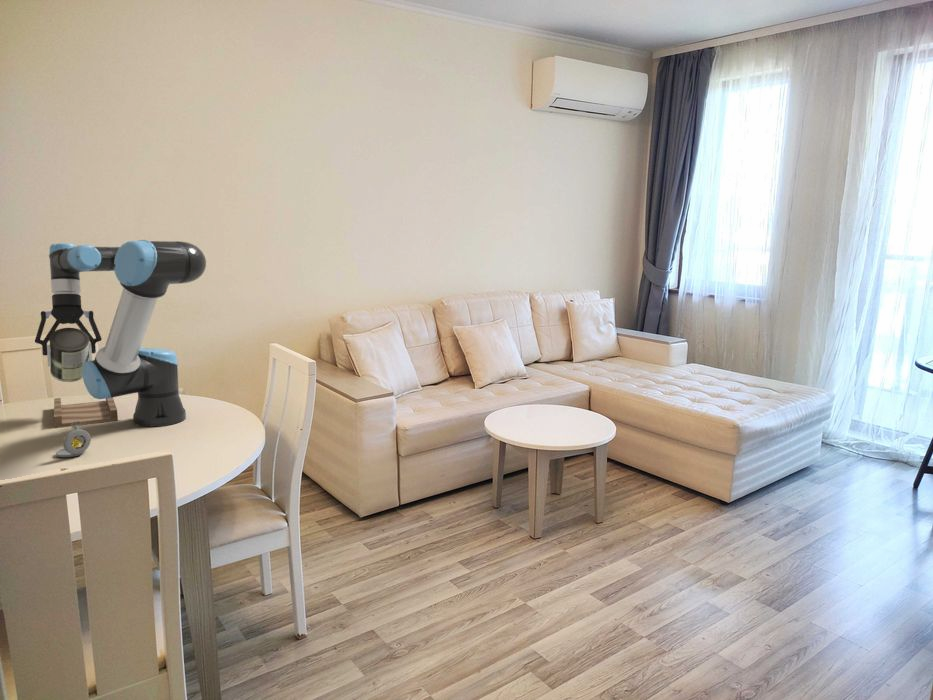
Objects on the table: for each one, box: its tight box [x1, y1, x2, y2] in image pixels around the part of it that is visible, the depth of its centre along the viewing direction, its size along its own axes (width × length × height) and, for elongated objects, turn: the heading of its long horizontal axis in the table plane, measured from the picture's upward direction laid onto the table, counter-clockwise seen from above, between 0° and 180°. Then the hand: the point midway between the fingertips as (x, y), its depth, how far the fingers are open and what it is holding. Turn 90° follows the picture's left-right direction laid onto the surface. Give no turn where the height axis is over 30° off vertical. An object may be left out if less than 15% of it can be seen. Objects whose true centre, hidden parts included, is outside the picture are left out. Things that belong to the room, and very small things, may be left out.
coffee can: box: [48, 327, 90, 383], centre depth 189 cm, size 10×10×14 cm
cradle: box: [53, 397, 119, 429], centre depth 197 cm, size 24×17×4 cm
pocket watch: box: [55, 421, 92, 458], centre depth 161 cm, size 8×8×10 cm
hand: (70, 365), depth 188 cm, fingers closed on coffee can, 10 cm apart
